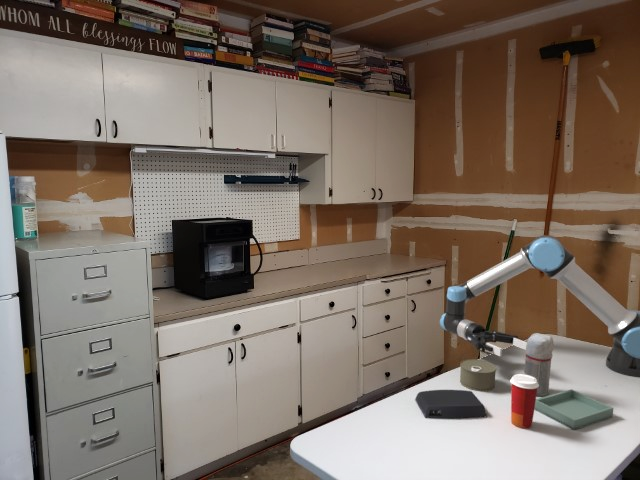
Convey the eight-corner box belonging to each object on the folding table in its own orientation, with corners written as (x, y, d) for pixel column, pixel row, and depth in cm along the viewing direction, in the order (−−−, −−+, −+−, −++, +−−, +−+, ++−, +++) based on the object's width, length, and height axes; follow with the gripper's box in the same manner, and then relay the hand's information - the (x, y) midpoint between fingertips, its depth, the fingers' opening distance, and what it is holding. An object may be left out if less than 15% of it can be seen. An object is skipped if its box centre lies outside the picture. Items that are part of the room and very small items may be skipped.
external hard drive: (414, 400, 154) (414, 388, 154) (471, 399, 156) (472, 387, 155) (425, 420, 141) (425, 407, 141) (488, 419, 143) (489, 406, 142)
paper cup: (534, 419, 142) (537, 375, 140) (536, 432, 135) (540, 386, 133) (506, 415, 144) (509, 371, 143) (507, 427, 137) (510, 381, 135)
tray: (570, 397, 157) (571, 389, 156) (612, 417, 144) (613, 408, 144) (532, 408, 149) (533, 399, 148) (573, 430, 136) (574, 420, 136)
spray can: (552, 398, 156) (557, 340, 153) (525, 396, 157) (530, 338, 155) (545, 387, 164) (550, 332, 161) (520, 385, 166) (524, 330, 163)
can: (498, 382, 168) (499, 363, 167) (490, 395, 158) (491, 375, 157) (464, 374, 174) (465, 356, 174) (455, 386, 164) (456, 367, 164)
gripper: (494, 336, 193) (538, 354, 174) (446, 345, 182) (488, 365, 163) (495, 318, 192) (540, 335, 173) (447, 326, 181) (489, 344, 162)
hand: (514, 349), depth 168 cm, fingers open, 13 cm apart
